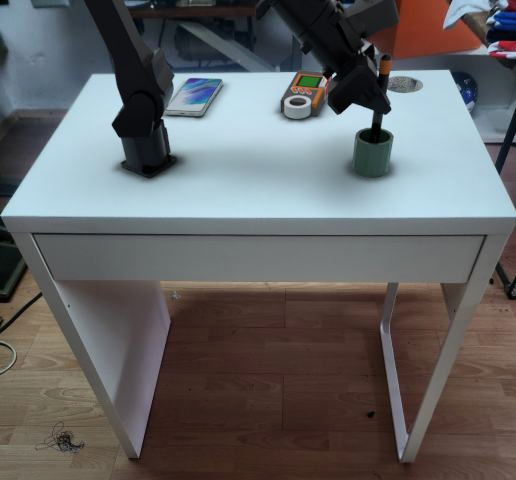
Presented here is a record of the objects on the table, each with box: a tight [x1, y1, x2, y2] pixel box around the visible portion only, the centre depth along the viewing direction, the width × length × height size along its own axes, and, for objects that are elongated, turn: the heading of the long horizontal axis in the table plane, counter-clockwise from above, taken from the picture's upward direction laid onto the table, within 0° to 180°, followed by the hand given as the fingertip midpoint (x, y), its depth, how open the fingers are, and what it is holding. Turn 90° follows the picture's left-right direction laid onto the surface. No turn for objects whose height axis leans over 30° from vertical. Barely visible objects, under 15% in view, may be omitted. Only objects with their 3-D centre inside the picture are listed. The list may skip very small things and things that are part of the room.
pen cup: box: [351, 127, 395, 178], centre depth 74 cm, size 5×5×5 cm
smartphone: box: [164, 77, 224, 117], centre depth 94 cm, size 7×1×15 cm
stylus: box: [369, 53, 393, 144], centre depth 70 cm, size 2×2×14 cm
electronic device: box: [280, 69, 333, 120], centre depth 91 cm, size 7×3×15 cm
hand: (388, 109), depth 70 cm, fingers closed on stylus, 1 cm apart
